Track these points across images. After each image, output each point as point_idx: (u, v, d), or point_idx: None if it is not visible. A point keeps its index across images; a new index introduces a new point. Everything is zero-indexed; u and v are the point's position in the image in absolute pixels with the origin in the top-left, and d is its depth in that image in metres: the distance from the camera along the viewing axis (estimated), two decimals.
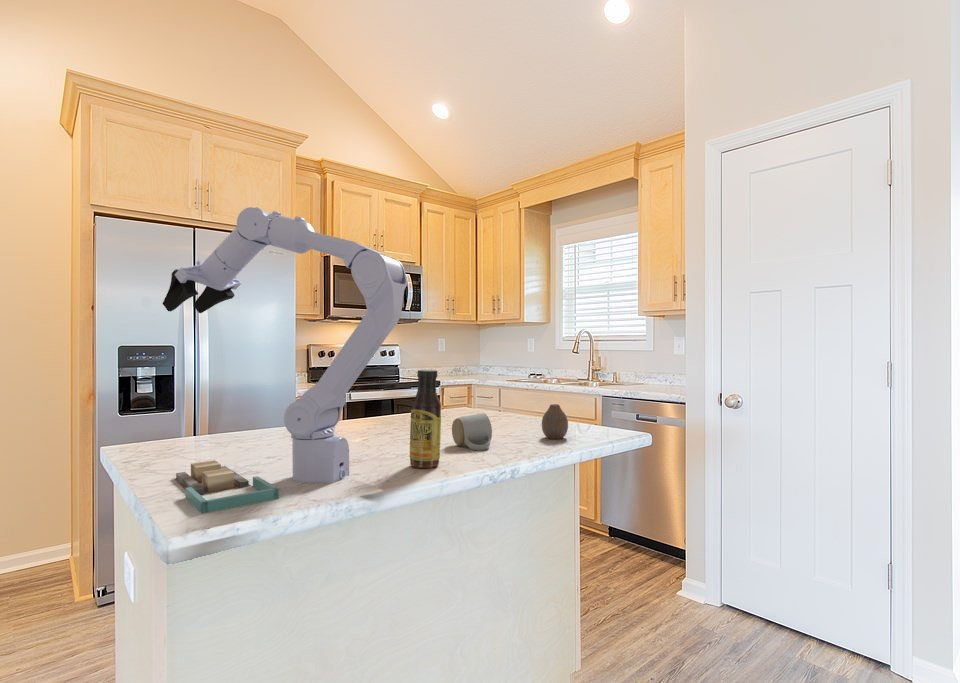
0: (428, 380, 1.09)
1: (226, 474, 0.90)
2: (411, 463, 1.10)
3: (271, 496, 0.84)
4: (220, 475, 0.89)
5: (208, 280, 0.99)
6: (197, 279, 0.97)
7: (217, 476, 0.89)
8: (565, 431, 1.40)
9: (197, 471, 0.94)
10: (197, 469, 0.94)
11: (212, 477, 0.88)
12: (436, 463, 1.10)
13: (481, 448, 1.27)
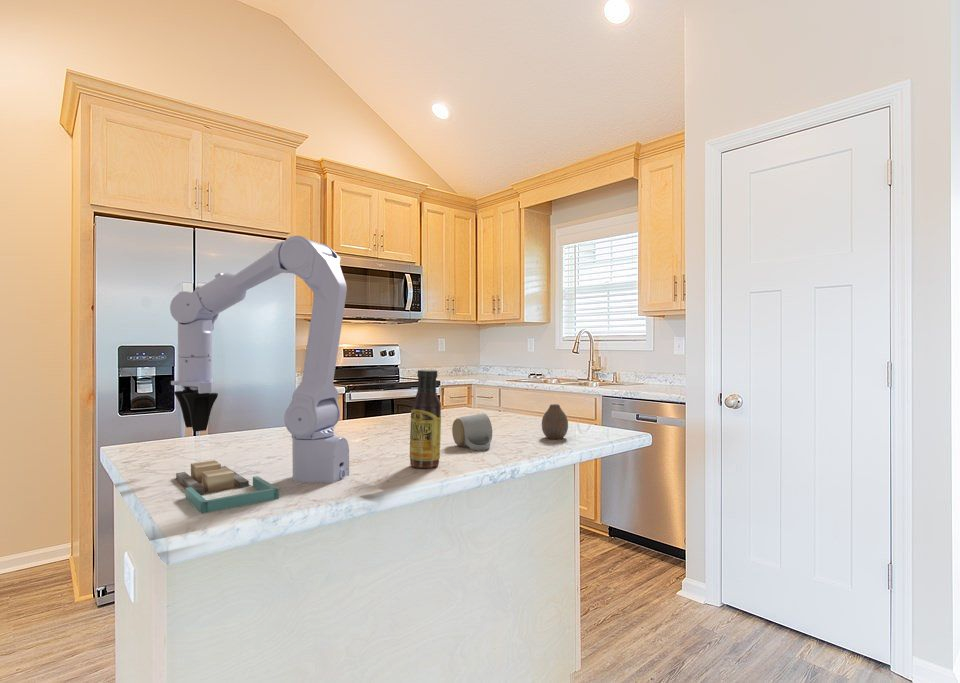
0: (428, 380, 1.09)
1: (226, 474, 0.90)
2: (411, 463, 1.10)
3: (271, 496, 0.84)
4: (220, 475, 0.89)
5: (207, 380, 1.01)
6: (210, 382, 0.99)
7: (217, 476, 0.89)
8: (565, 431, 1.40)
9: (197, 471, 0.94)
10: (197, 469, 0.94)
11: (212, 477, 0.88)
12: (436, 463, 1.10)
13: (481, 448, 1.26)
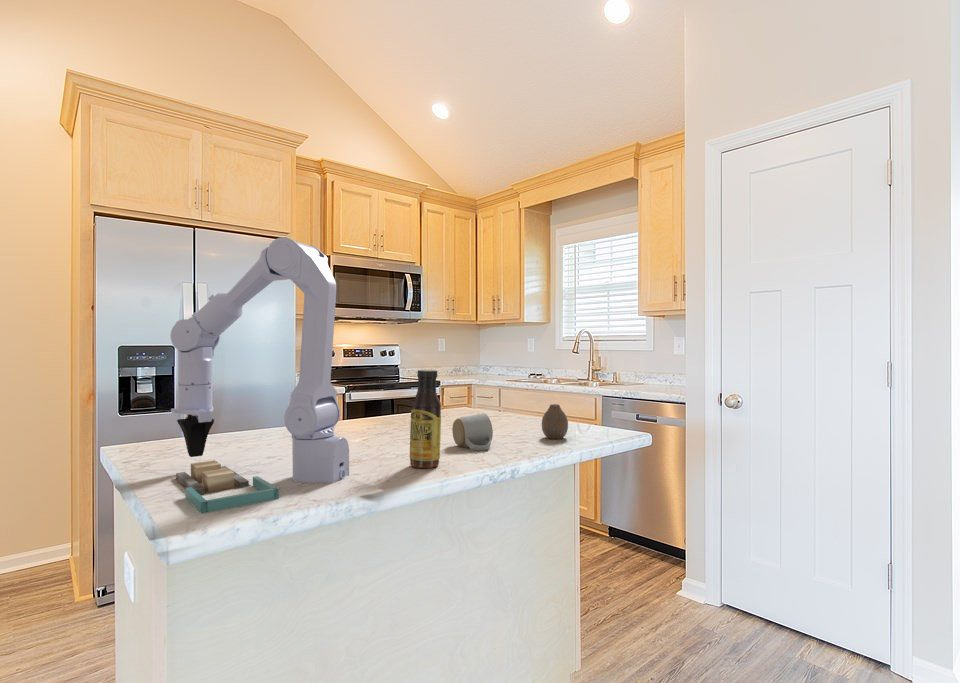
0: (428, 380, 1.09)
1: (226, 474, 0.90)
2: (411, 463, 1.10)
3: (271, 496, 0.84)
4: (220, 475, 0.89)
5: (207, 407, 1.01)
6: (210, 410, 0.99)
7: (217, 476, 0.89)
8: (565, 431, 1.40)
9: (197, 471, 0.94)
10: (197, 469, 0.94)
11: (212, 477, 0.88)
12: (436, 463, 1.10)
13: (482, 448, 1.26)
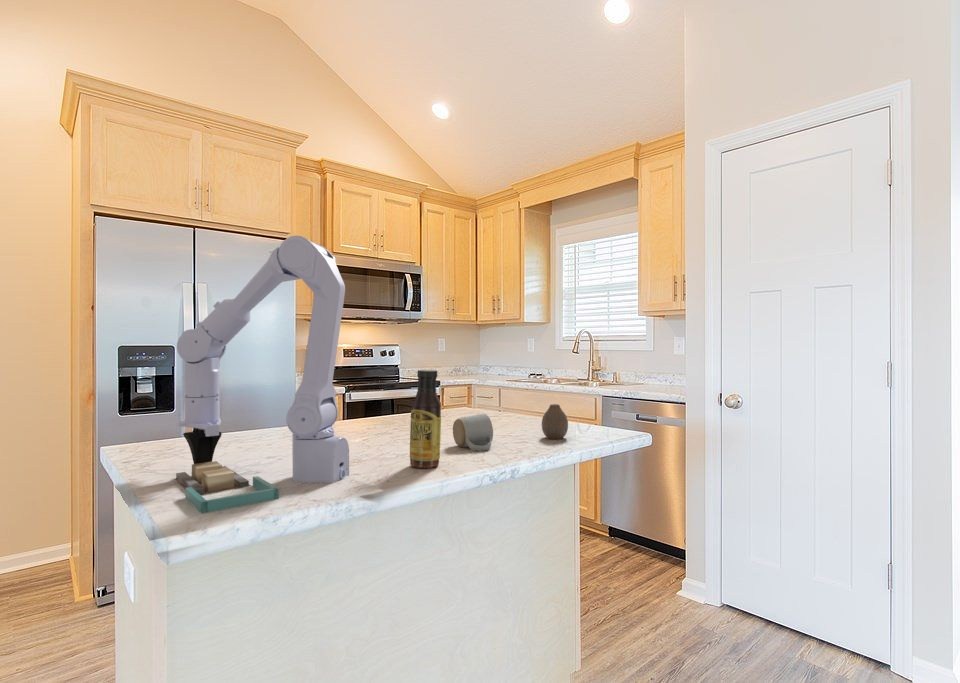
0: (428, 380, 1.09)
1: (226, 474, 0.90)
2: (411, 463, 1.10)
3: (271, 496, 0.84)
4: (220, 475, 0.89)
5: (215, 420, 0.98)
6: (218, 423, 0.96)
7: (217, 476, 0.89)
8: (565, 431, 1.40)
9: (198, 472, 0.94)
10: (198, 470, 0.94)
11: (212, 477, 0.88)
12: (436, 463, 1.10)
13: (482, 449, 1.26)
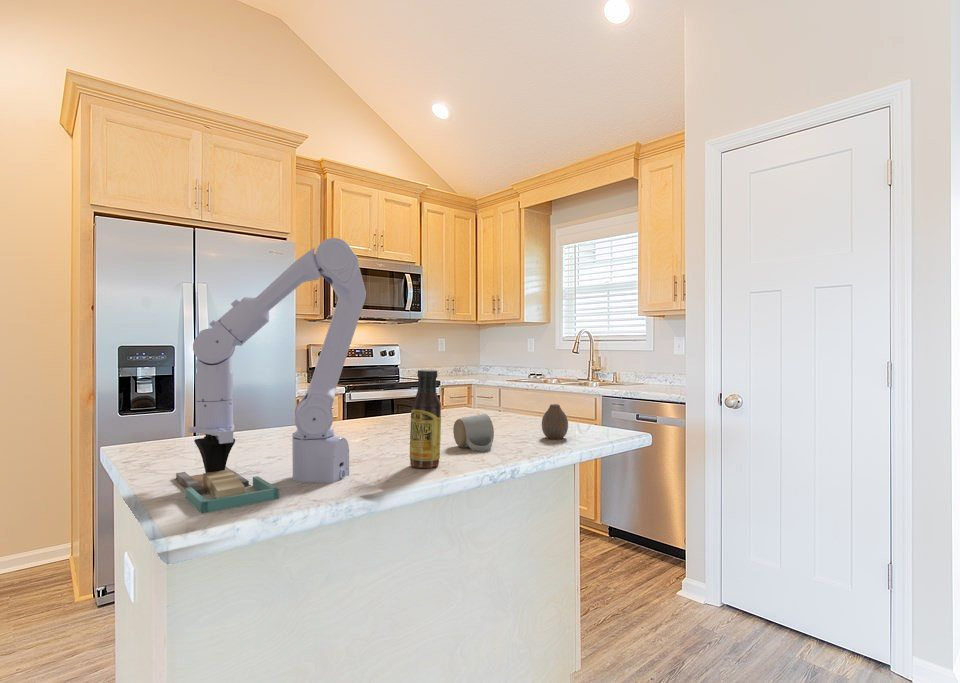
0: (428, 380, 1.09)
1: (236, 488, 0.86)
2: (411, 463, 1.10)
3: (271, 496, 0.84)
4: (230, 489, 0.85)
5: (228, 426, 0.91)
6: (232, 429, 0.89)
7: (227, 490, 0.85)
8: (565, 431, 1.40)
9: (210, 482, 0.87)
10: (210, 480, 0.87)
11: (222, 491, 0.84)
12: (436, 463, 1.10)
13: (483, 449, 1.25)
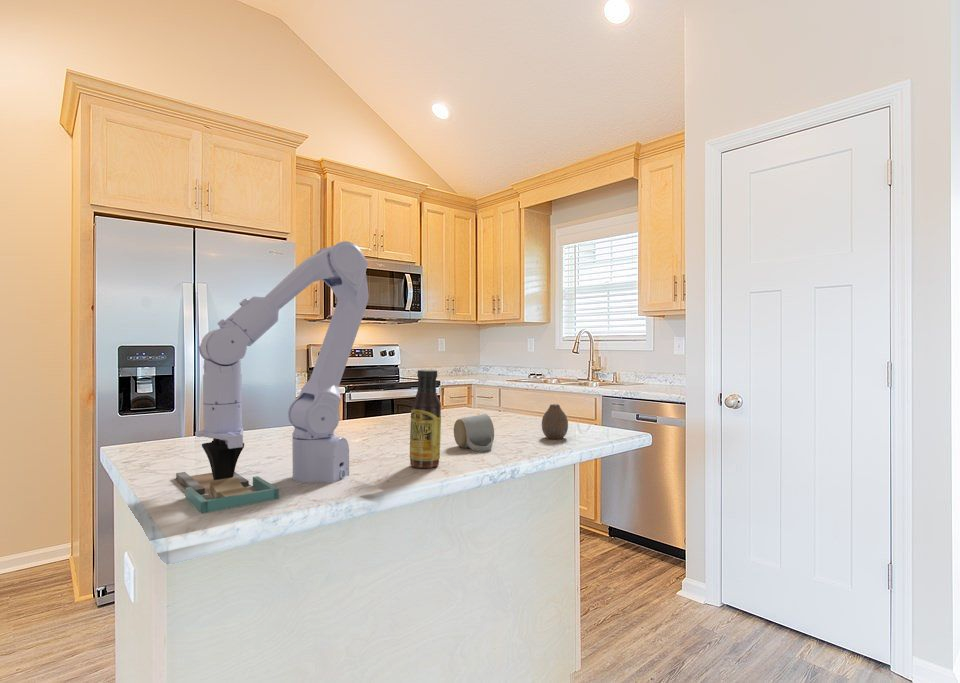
0: (428, 380, 1.10)
1: None
2: (411, 463, 1.10)
3: (271, 496, 0.84)
4: None
5: (237, 430, 0.87)
6: (241, 433, 0.85)
7: None
8: (565, 431, 1.40)
9: (217, 496, 0.83)
10: (217, 493, 0.83)
11: None
12: (436, 463, 1.10)
13: (483, 449, 1.25)
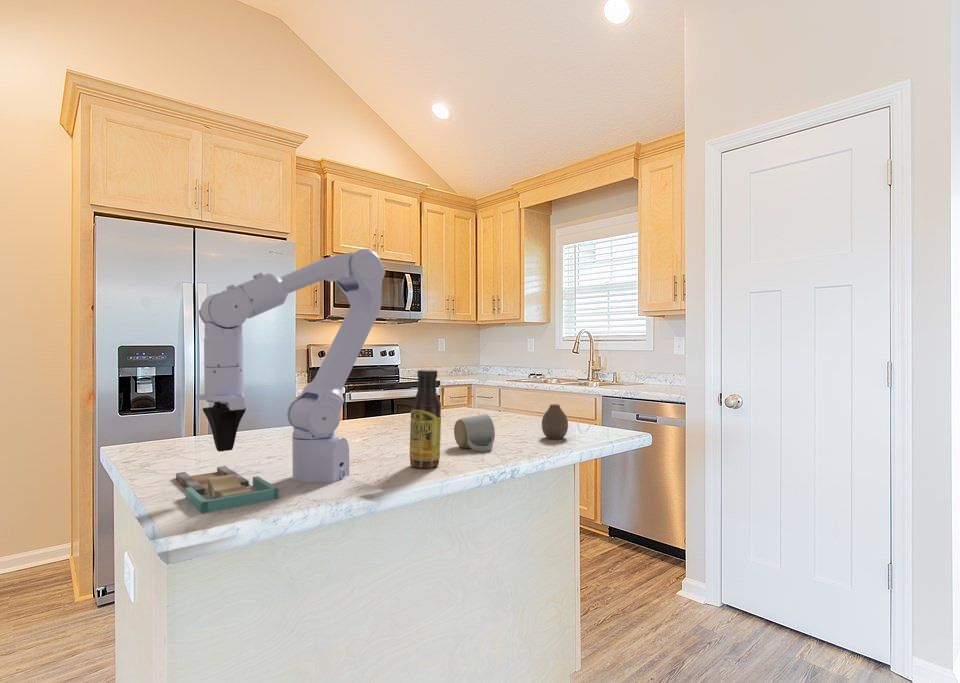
0: (428, 380, 1.09)
1: (243, 493, 0.83)
2: (411, 463, 1.10)
3: (271, 496, 0.84)
4: (237, 494, 0.82)
5: (238, 394, 0.87)
6: (242, 396, 0.85)
7: None
8: (565, 431, 1.40)
9: (215, 494, 0.84)
10: (216, 492, 0.84)
11: None
12: (436, 463, 1.10)
13: (484, 450, 1.25)
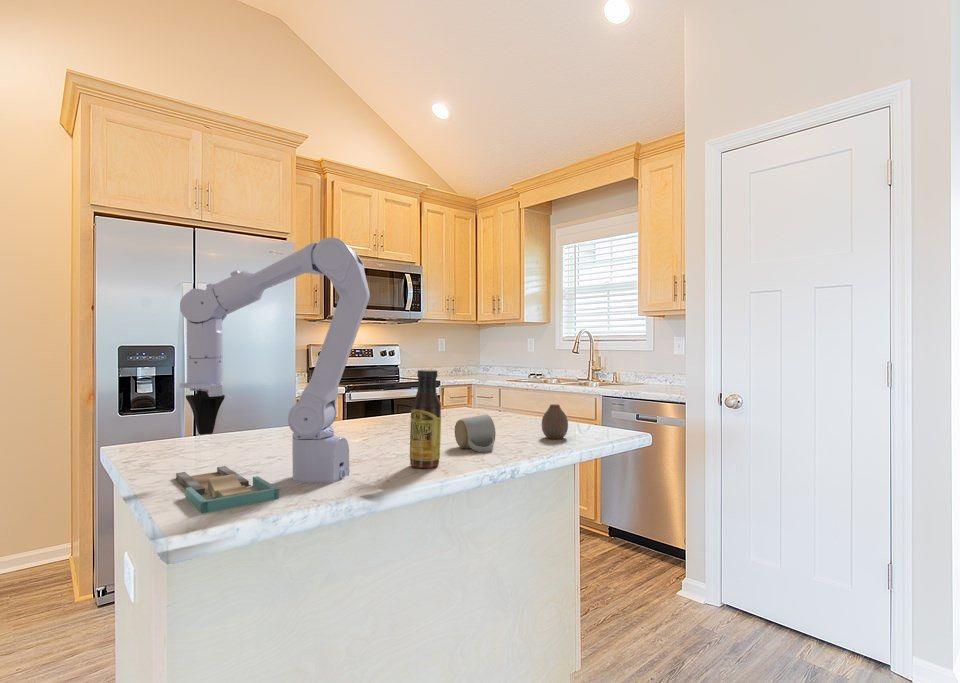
0: (428, 380, 1.09)
1: (243, 493, 0.83)
2: (411, 463, 1.10)
3: (271, 496, 0.84)
4: (237, 494, 0.82)
5: (218, 382, 0.96)
6: (221, 384, 0.94)
7: None
8: (565, 431, 1.40)
9: (215, 494, 0.84)
10: (216, 492, 0.84)
11: None
12: (436, 463, 1.10)
13: (485, 450, 1.25)
